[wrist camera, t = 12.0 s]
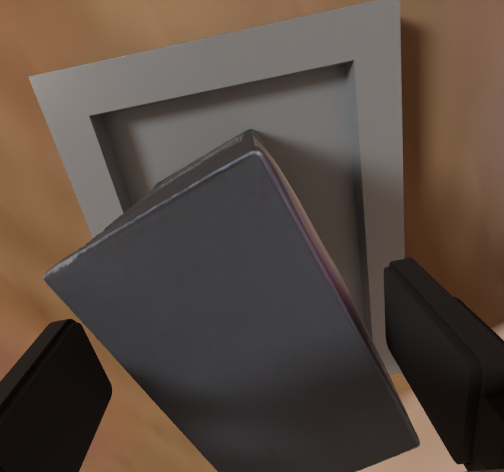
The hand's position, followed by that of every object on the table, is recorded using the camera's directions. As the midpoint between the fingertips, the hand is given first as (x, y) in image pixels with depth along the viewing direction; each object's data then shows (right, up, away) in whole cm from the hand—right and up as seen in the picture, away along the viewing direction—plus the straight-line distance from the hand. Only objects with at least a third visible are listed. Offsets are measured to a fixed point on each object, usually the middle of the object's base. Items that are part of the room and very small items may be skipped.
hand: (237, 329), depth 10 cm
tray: (0, +3, +9) cm, 10 cm away
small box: (0, +3, +9) cm, 9 cm away
